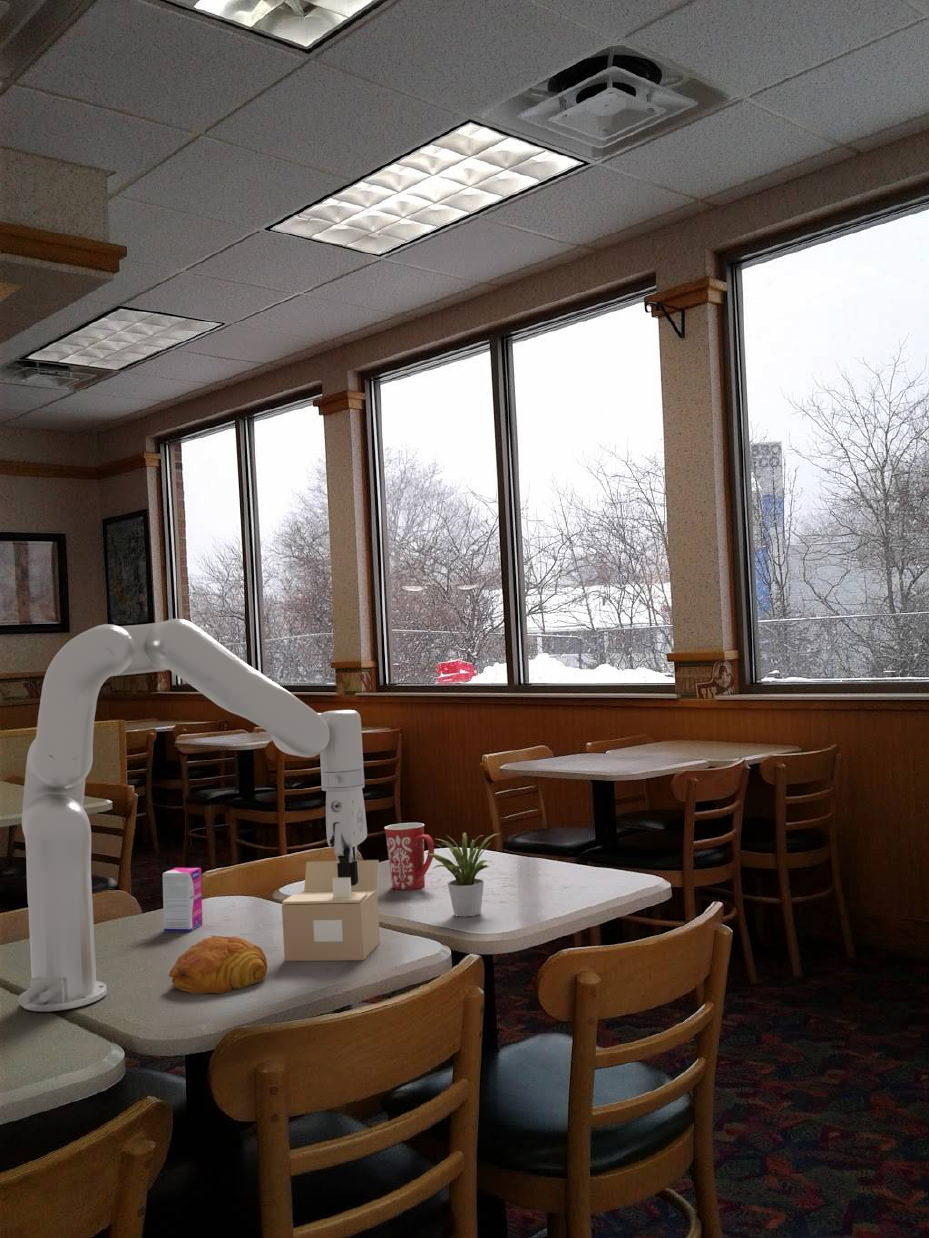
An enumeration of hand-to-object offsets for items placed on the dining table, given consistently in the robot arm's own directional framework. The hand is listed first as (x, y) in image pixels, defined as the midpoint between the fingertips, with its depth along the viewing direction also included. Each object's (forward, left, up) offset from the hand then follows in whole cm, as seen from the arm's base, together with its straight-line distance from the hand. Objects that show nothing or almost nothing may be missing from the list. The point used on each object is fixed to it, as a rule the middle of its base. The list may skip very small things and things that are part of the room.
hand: (348, 884), depth 192 cm
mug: (+50, 0, -12) cm, 51 cm away
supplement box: (+17, +39, -12) cm, 44 cm away
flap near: (-4, +3, -2) cm, 6 cm away
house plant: (+26, -17, -12) cm, 33 cm away
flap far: (+6, +3, +1) cm, 7 cm away
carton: (-1, +3, -11) cm, 12 cm away
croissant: (-18, +17, -12) cm, 28 cm away
